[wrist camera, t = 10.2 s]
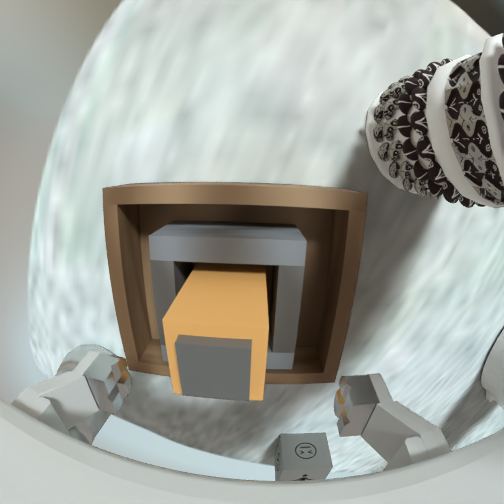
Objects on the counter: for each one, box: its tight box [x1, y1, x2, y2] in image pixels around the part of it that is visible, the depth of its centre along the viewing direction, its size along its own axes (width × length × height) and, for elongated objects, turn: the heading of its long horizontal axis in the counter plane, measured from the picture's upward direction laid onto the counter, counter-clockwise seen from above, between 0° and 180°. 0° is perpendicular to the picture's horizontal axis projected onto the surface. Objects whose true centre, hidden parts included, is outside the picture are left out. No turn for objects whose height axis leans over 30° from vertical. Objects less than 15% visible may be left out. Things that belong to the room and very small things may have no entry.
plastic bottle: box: [55, 344, 125, 445], centre depth 13 cm, size 6×7×20 cm
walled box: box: [103, 182, 367, 384], centre depth 17 cm, size 15×13×5 cm
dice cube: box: [275, 433, 333, 481], centre depth 23 cm, size 5×5×5 cm
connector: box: [162, 262, 269, 401], centre depth 15 cm, size 4×4×10 cm
